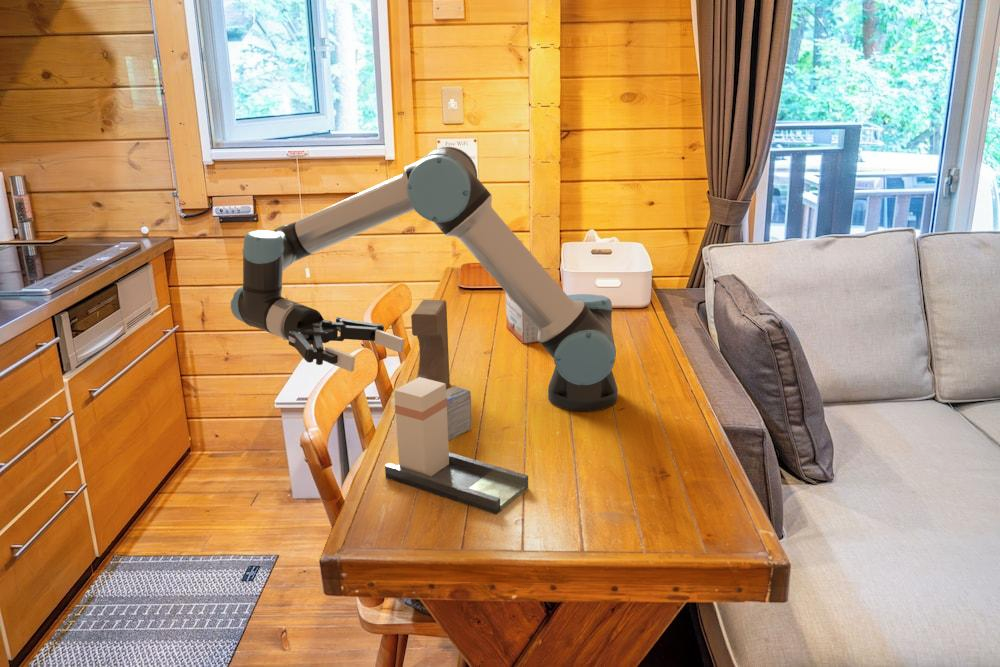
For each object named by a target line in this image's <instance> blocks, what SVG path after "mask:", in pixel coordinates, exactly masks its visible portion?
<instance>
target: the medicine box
mask: <svg viewBox="0 0 1000 667" xmlns="http://www.w3.org/2000/svg"><path fill="white" fill-rule="evenodd" d="M471 395H472V394H471V391H470V390H469V389H466V388H464V387H459V386H455V385H454V386H452V387H450V388H446V398H447V422H448V442H449V440H450V441H451V440H454V438H456V437H459V436H460V435H462V434H464V433H467V431H470V430H472V429H473V428H472V396H471Z"/></svg>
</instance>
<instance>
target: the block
mask: <svg viewBox="0 0 1000 667" xmlns="http://www.w3.org/2000/svg"><path fill="white" fill-rule="evenodd" d="M446 390H447V388H446V384H445V383H441V382H437V381H433V380H429V379H425V378H421V377H418V378H417V377H415V379H413V380H411V381H409V382H407V383H405V384H403V385H401V386H400V387H397V388H396V389H394V412H395V420H396V421H395V422H396V433H397V434H396V436H397V450H398V465H399V466H401V467H404V468H407V469H410V470H413V471H416V472H419V473H423V474H426V475H429V476H433V475H434V474H435V473H437V472H438V471H440V470H441V469H443V468H444V467H446V466H447V465H448V464H449V452H450V450H449V448H450V447H449V441H448V422H447V398H446Z"/></svg>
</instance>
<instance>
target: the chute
mask: <svg viewBox="0 0 1000 667" xmlns="http://www.w3.org/2000/svg"><path fill="white" fill-rule="evenodd" d="M384 470H385V471H384V473H385V474H384V475H385V479H388V480H391V481H394V482H398V483H400V484H403V485H406V486H409V487H412V488H415V489H418V490H421V491H424V492H428V493H430V494H433V495H435V496H439V497H443V498H445V499H448V500H451V501H454V502H458V503H459V504H464V505H466V506H469V507H472V508H476V509H478V510H482V511H484V512H488V513H491V514H494V515H498V514H499V513H500V512H502V510H504V509H505V508H506V507H507V506H509V505H510V504H511V503H512V502H514V501H515V500H516V499H517V498H518V497H520V496H521V495H522V494H523V493H525V492H526V491H527V490H528V489H529V475H528V474H524V473H520V472H518V471H514V470H510V469H508V468H503V467H500V466H496V465H493V464H490V463H486V462H483V461H481V460H476V459H473V458H472V457H471V458H469V457H467V456H465V455H460V454H456V453H453V452H450V451H449V464H448V465H447V466H446V467H444V468H443V469H441V470H440V471H438V472H437V473H435V474H434V475H433V476H429V475H426V474H423V473H419V472H416V471H413V470H410V469H407V468H404V467H401V466H399V464H394V463H391V462H389V463H386V464H385V465H384Z"/></svg>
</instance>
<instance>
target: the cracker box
mask: <svg viewBox="0 0 1000 667" xmlns="http://www.w3.org/2000/svg"><path fill="white" fill-rule="evenodd" d="M541 266H542V267H543V264H541ZM505 317H506V319H505V320H506V321H505V322H506V324H505V325H506V328H507V329H508V330H509V331H510V333H512V334H513V335H514V336H515V338H517V340H518V341H519V342H520V343H522V344H523V345H526V344H527V345H528V344H532V343H540V342H539V341H538V328H537V327H536V326H535V325H534V324H533V323H532V321H531V320H530V319H529V318H528V317H527V316H526V315H525V313H524V312H523V311H522V310H521V309H520V308H519V307H518V305H517V304H516V303H515V302H514V301H513V300H512V299H511V297H510V296H509V295H508V294H507V293H506V292H505Z"/></svg>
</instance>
